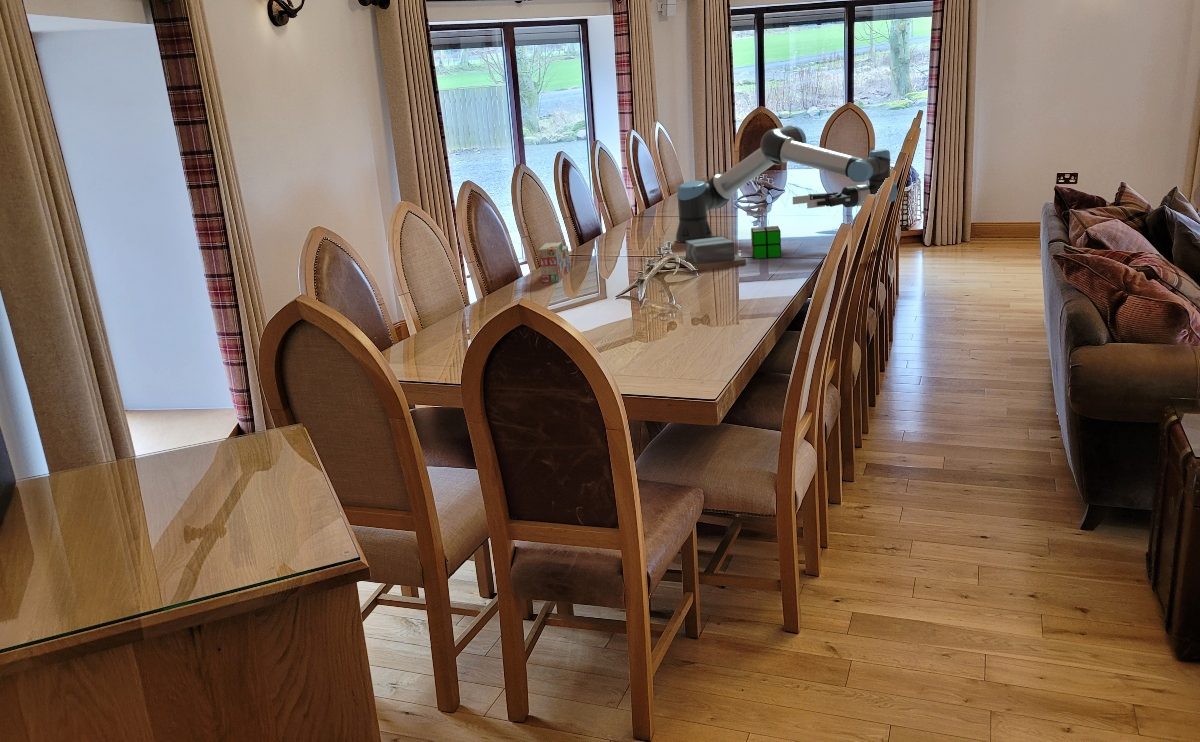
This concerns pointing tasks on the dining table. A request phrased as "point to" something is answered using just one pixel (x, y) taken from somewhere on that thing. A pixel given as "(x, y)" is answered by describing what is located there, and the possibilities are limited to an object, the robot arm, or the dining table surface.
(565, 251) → the stack of blocks
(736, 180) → the robot arm
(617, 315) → the dining table surface
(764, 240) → the puzzle cube
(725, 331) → the dining table surface
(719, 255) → the tower base
